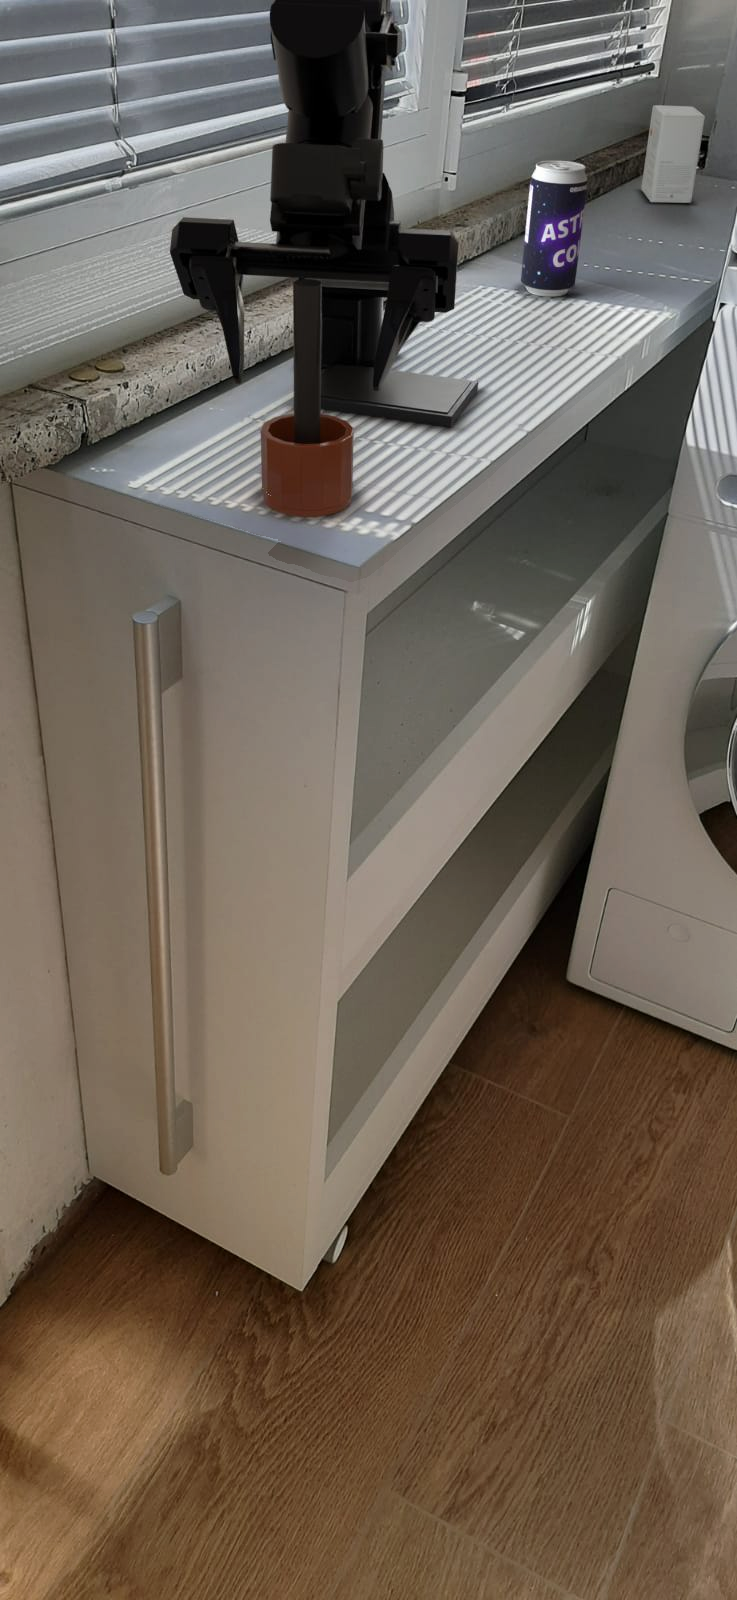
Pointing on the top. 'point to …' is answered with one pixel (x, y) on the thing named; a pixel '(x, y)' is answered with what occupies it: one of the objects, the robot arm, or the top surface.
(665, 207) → the top surface
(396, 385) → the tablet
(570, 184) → the beverage can
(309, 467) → the pencil cup
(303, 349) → the stylus
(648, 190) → the small box
